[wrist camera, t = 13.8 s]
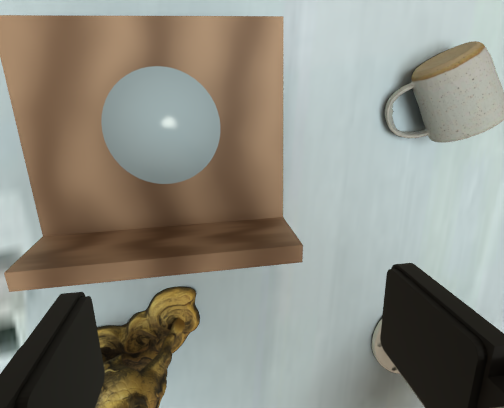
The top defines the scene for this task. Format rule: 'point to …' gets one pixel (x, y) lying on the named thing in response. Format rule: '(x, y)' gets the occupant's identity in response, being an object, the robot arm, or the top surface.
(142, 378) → the figurine
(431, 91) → the ceramic mug
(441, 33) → the top surface
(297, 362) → the top surface
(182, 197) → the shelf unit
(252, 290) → the top surface
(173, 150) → the grey cylinder
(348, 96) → the top surface
